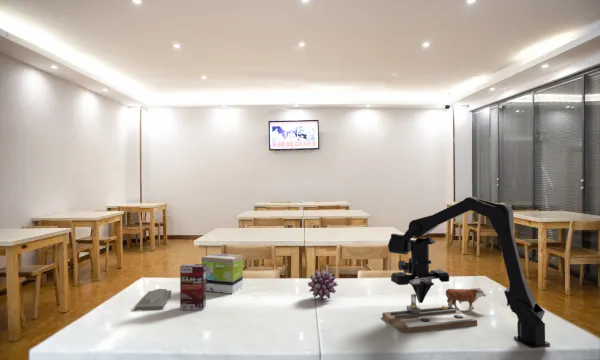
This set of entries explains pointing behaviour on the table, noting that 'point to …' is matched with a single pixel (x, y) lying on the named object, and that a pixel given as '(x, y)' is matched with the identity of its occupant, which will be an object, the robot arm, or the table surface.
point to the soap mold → (154, 300)
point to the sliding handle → (413, 305)
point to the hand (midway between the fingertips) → (420, 302)
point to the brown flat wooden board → (428, 319)
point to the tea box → (223, 272)
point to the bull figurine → (464, 296)
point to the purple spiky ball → (322, 284)
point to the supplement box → (192, 286)
